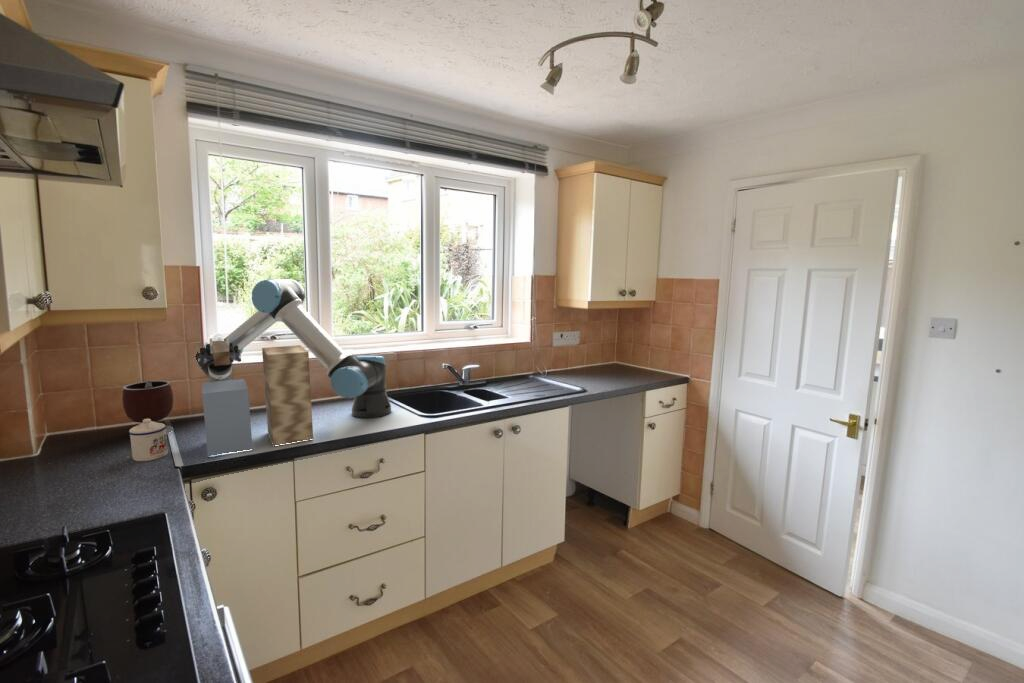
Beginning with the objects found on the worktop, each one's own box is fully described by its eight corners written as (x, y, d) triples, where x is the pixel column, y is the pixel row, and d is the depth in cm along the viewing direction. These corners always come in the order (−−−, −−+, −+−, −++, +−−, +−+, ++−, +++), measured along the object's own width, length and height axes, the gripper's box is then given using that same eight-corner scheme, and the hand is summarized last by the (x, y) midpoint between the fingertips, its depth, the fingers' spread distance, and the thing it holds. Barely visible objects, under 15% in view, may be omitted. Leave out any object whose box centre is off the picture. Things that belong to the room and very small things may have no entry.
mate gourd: (124, 432, 171) (118, 376, 168) (172, 424, 180) (167, 370, 177) (129, 444, 160) (122, 384, 157) (180, 434, 169) (174, 377, 166)
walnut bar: (226, 351, 170) (225, 340, 170) (230, 364, 148) (229, 351, 148) (212, 352, 168) (212, 341, 168) (214, 365, 146) (213, 352, 146)
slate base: (248, 436, 168) (244, 378, 165) (252, 450, 155) (248, 388, 152) (207, 442, 162) (202, 383, 159) (207, 458, 148) (202, 393, 145)
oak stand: (304, 427, 177) (300, 345, 173) (313, 440, 164) (308, 351, 160) (267, 433, 171) (262, 348, 167) (273, 447, 158) (267, 355, 153)
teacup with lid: (155, 462, 145) (151, 424, 143) (124, 462, 145) (119, 424, 143) (181, 447, 157) (178, 412, 155) (152, 447, 157) (149, 412, 155)
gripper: (247, 373, 184) (249, 350, 165) (193, 378, 175) (189, 354, 156) (245, 354, 186) (247, 329, 168) (191, 358, 177) (187, 332, 159)
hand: (219, 341), depth 162 cm, fingers closed on walnut bar, 4 cm apart
